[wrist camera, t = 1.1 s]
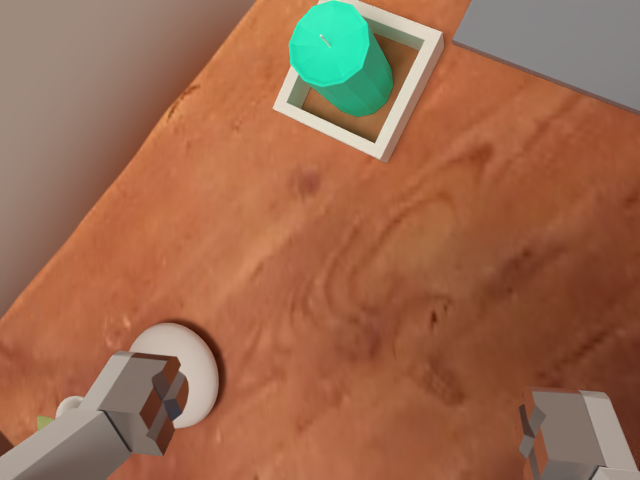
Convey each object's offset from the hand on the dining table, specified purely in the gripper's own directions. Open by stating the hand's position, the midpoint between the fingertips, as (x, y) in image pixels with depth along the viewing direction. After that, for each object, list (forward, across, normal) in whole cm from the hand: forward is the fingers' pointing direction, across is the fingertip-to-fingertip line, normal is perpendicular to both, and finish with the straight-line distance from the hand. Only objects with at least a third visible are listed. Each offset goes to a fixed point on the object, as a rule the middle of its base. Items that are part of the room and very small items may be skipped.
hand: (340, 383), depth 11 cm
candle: (+36, +3, +5) cm, 36 cm away
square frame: (+35, +3, +4) cm, 36 cm away
